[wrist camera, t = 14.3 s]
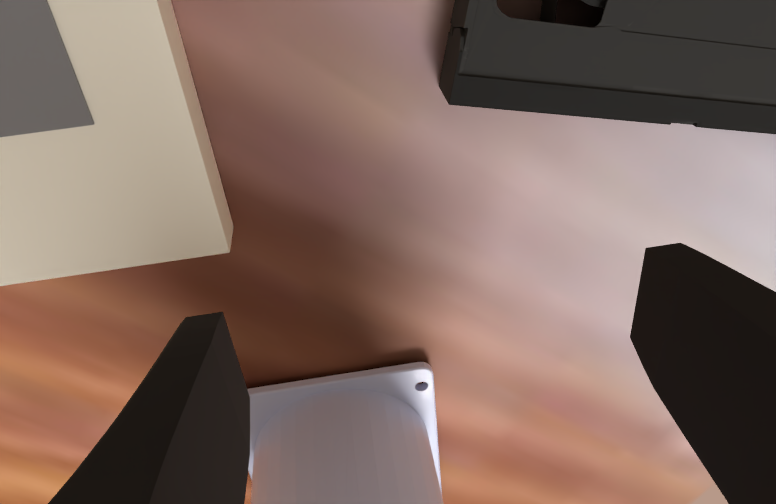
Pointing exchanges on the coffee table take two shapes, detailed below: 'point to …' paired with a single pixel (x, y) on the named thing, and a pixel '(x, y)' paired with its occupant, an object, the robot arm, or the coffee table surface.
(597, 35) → the vhs tape
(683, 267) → the robot arm
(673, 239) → the coffee table surface
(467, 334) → the coffee table surface
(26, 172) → the white base plate
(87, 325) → the coffee table surface
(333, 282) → the coffee table surface
